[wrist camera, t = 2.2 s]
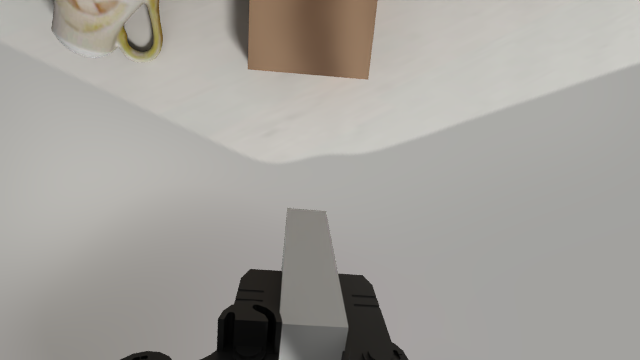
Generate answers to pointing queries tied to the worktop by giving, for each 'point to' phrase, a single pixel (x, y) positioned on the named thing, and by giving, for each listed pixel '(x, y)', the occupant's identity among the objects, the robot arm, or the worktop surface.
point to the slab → (312, 36)
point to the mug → (103, 27)
